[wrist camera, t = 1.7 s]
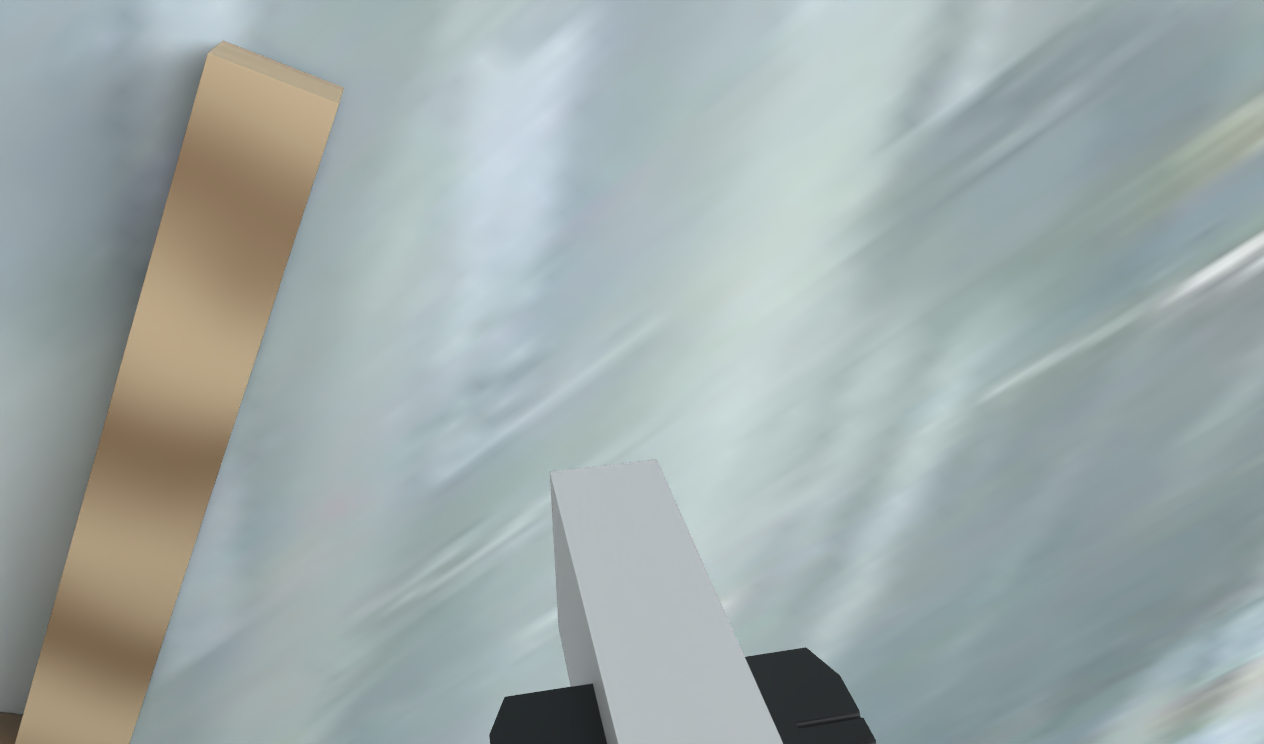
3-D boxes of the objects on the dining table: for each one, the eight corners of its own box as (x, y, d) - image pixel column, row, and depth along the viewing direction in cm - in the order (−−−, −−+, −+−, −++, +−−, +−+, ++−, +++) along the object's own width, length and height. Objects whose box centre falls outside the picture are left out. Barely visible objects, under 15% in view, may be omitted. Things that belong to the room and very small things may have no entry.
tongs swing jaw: (134, 727, 33) (117, 780, 31) (33, 712, 32) (8, 765, 30) (343, 87, 26) (339, 103, 24) (223, 40, 25) (208, 52, 23)
